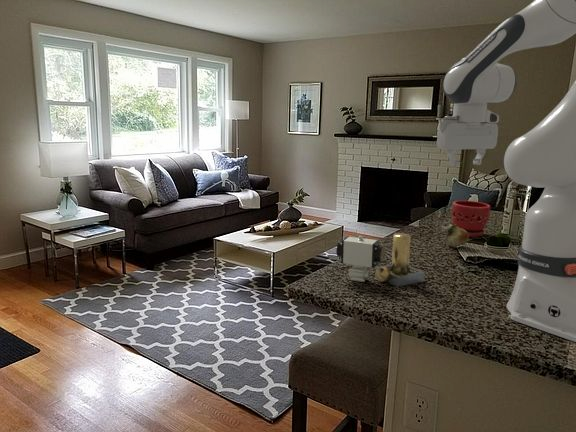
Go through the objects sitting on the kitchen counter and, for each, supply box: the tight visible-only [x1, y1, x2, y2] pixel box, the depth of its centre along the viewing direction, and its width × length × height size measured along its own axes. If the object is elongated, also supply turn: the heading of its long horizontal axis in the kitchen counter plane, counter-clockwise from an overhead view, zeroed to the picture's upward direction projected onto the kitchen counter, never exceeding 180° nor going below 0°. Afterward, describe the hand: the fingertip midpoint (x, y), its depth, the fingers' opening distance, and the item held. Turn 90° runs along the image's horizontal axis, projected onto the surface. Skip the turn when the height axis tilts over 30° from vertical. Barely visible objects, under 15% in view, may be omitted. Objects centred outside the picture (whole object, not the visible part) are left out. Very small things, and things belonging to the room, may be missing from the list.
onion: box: [441, 222, 470, 249], centre depth 149 cm, size 8×8×8 cm
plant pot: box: [451, 200, 491, 238], centre depth 166 cm, size 13×13×12 cm
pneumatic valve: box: [335, 235, 386, 283], centre depth 117 cm, size 6×12×12 cm, turn 63°
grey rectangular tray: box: [375, 264, 426, 287], centre depth 118 cm, size 9×11×4 cm
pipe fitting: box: [390, 232, 412, 276], centre depth 117 cm, size 5×5×12 cm
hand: (465, 165), depth 128 cm, fingers open, 8 cm apart
